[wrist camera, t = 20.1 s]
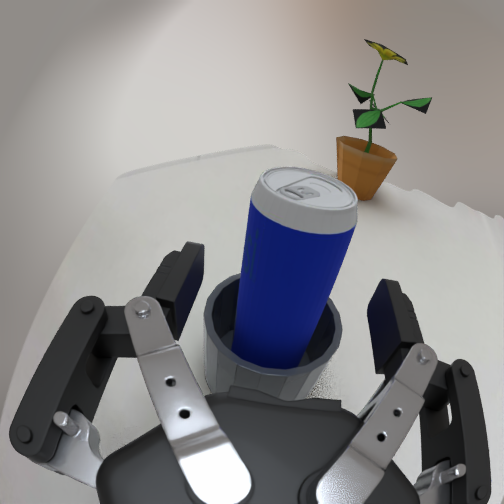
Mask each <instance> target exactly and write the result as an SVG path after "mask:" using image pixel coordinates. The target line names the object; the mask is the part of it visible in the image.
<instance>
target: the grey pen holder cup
mask: <svg viewBox="0 0 504 504" xmlns="http://www.w3.org/2000/svg"><path fill="white" fill-rule="evenodd" d="M240 276H241V273H239V274H236V275H233V276H231V277H229V278H227V279H226V280H224V281H223V282H221V283H220V284H218V285H217V286H216V288H215V289H214V290H213V292H212V293H211V294H210V296H209V297H208V299H207V302H206V306H205V310H204V367H205V377H206V381H207V384H208V387H209V388H210V390H211V392H212V394H213V393H218V392H229V387H230V385H234V386H239V387H244V388H250V389H256V390H260V391H262V392H264V393H267V394H269V395H272V396H274V397H277V398H280V399H282V400H285V401H293V400H302V399H306V397H307V396H308V395H309V393H310V392H311V391H312V389H313V388H314V386H315V385H316V383H317V382H318V380H319V379H320V377H321V375H322V374H323V372H324V371H325V369H326V367H327V366H328V364H329V362H330V361H331V359H332V357H333V356H334V354H335V352H336V351H337V349H338V347H339V344H340V340H341V335H342V324H341V319H340V314H339V312H338V310H337V309H336V307H335V305H334V303H333V302H332V300H331V299H330V298H328V300H327V303H326V305H325V307H324V310H323V312H322V314H321V317H320V319H319V321H318V324H317V326H316V328H315V330H314V333H313V335H312V337H311V339H310V342H309V344H308V346H307V348H306V350H305V352H304V355H303V357H302V359H301V361H300V363H299V365H298V367H296V368H291V369H286V370H285V369H274V368H264V367H261V366H258V365H255V364H253V363H250V362H248V361H245V360H243V359H241V358H240V357H238V356H237V355H236V354H234V353H233V352H232V351H231V347H232V339H233V331H234V323H235V315H236V307H237V299H238V292H239V284H240Z"/></svg>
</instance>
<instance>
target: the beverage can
mask: <svg viewBox="0 0 504 504" xmlns="http://www.w3.org/2000/svg"><path fill="white" fill-rule="evenodd" d="M357 204H358V199H357V196H356V194H355V192H354V191H353V190H352V189H351V188H350V187H349V186H347V185H346V184H344V183H343V182H341V181H339V180H338V179H336V178H333V177H331V176H329V175H326V174H324V173H321V172H317V171H314V170H309V169H305V168H298V167H276V168H271V169H268V170H266V171H264V172H263V173H262V174H261V176H260V178H259V180H258V182H257V184H256V186H255V188H254V190H253V192H252V195H251V200H250V207H249V215H248V222H247V230H246V238H245V245H244V253H243V261H242V268H241V276H240V284H239V292H238V299H237V307H236V315H235V323H234V331H233V339H232V347H231V351H232V352H233V353H234V354H236V355H237V356H238V357H240V358H241V359H243V360H245V361H248V362H250V363H253V364H255V365H258V366H261V367H264V368H274V369H285V370H286V369H291V368H296V367H298V365H299V363H300V361H301V359H302V357H303V355H304V352H305V350H306V348H307V346H308V344H309V342H310V339H311V337H312V335H313V333H314V330H315V328H316V326H317V324H318V321H319V319H320V317H321V314H322V312H323V310H324V307H325V305H326V303H327V300H328V298H329V295H330V293H331V290H332V288H333V285H334V283H335V280H336V278H337V275H338V273H339V270H340V268H341V265H342V262H343V260H344V257H345V254H346V252H347V249H348V246H349V243H350V241H351V238H352V235H353V232H354V229H355V226H356V223H357Z"/></svg>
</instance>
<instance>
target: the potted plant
mask: <svg viewBox="0 0 504 504" xmlns="http://www.w3.org/2000/svg"><path fill="white" fill-rule="evenodd" d="M365 41H366V42H367V43H368V45H369V46H371V47H373V48H374V49H376V50H377V51H378V52H379V54H380V56H381V58H382V62H381V64H380V67H379V69H378V72H377V75H376V78H375V81H374V85H373V88H372V91H371V93H367V92H365V91H361V90H359V89H357V88H356V87H354V86H352V85H351V84H349V86H350V87H351V89H352V91H353V92H354V94H355V95H356V97H357V98H358V101H359V102H360V103H361V104H362V103H363V102H365V101H366V100H368V99H369V98H371V100H370V110H366V109H353V113H354V119H355V125H356V128H369V141H365V140H362V139H358V138H353V137H347V136H342V137H337V138H336V141H337V168H338V169H337V170H338V172H337V173H338V180H339V181H341V182H343V183H344V184H346V185H347V186H349V187H350V188H351V189H352V190H353V191H354V192H355V194H356V196H357V199H359V200H363V201H365V200H371V199H372V197H373V196H374V194H375V193H376V191H377V190H378V188H379V187H380V185H381V184H382V182H383V181H384V179H385V178H386V176H387V174H388V173H389V171H390V170H391V168H392V167H393V165H394V164H395V162H396V160H397V157H396V155H395V154H394V153H393V152H391V151H389V150H387V149H385V148H384V147H381V146H379V145H377V144H374V143H372V128H381V129H386V126H385V122H384V118H385V117H384V116H383V114H382V112H383V111H385V110H387V109H389V108H391V107H393V106H395V105H398V104H400V103H402V104H405V105H407V106H409V107H412V108H414V109H416V110H418V111H421V112H423V113H425V114H426V112H427V109H428V107H429V104H430V102H431V99H432V98H422V99H413V100H407V101H404V102H399V103H397V104H394V105H391V106H389V107H386V108H384V109H381V110H380V109H377V106H376V103H375V99H374V94H373V92H374V88H375V85H376V82H377V79H378V75H379V72H380V69H381V66H382V63H383V60H393V59H394V60H397V61H399V62H402V63H404V64H407V62H406V59H404V58H403V57H401V56H400V55H398V54H397V53H395V52H393V51H392V50H390V49H388V48H386V47H385V46H383V45H381V44H378V43H375V42H372V41H368V40H365ZM407 65H408V64H407ZM373 100H374V104H373ZM372 104H373V106H374V105H375V106H374V107H375V108H373V107H372ZM383 117H384V118H383ZM386 121H387V120H386ZM387 122H388V121H387ZM388 123H389V122H388Z"/></svg>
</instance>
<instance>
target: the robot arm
mask: <svg viewBox="0 0 504 504" xmlns="http://www.w3.org/2000/svg"><path fill="white" fill-rule="evenodd" d="M203 275H204V244H199V243H193V242H188V241H187V242H186V244H185V245H184V247H183V249H182V251H181V252H179V251H172V252H171V253H169V254H168V255H167V256H165V258H164V259H163V261H162V262H161V264H160V266H159V267H158V269H157V271H156V273H155V274H154V275H153V277H152V279H151V280H150V282H149V284H148V285H147V287H146V289H145V291H144V292H143V294H142V296H140V297H136V298H134V299H132V300H130V301H129V302H128V303H127V305H126V306H105V305H104V302H103V301H102V300H101V299H100V298H98V297H96V296H86V297H83V298H81V299H79V300H78V301H77V302H76V303H75V304H74V305H73V307H72V308H71V310H70V312H69V313H68V315H67V316H66V318H65V320H64V321H63V323H62V325H61V326H60V328H59V330H58V331H57V333H56V335H55V337H54V338H53V340H52V342H51V344H50V345H49V347H48V349H47V351H46V353H45V354H44V356H43V358H42V360H41V362H40V364H39V366H38V368H37V370H36V372H35V374H34V375H33V377H32V379H31V382H30V384H29V386H28V388H27V390H26V392H25V394H24V396H23V398H22V400H21V403H20V405H19V407H18V409H17V412H16V414H15V416H14V419H13V421H12V424H11V426H10V430H9V438H10V442H11V444H12V446H13V448H14V449H15V450H16V451H17V452H18V453H20V454H21V455H23V456H25V457H27V458H29V459H30V460H31V461H32V462H34V463H36V464H38V465H40V466H42V467H44V468H46V469H48V470H51V471H54V472H56V473H59V474H61V475H67V476H69V477H71V478H73V479H75V480H77V481H79V482H81V483H84V484H86V485H88V486H91V487H93V488H95V489H97V493H98V497H99V501H100V504H487V503H488V501H489V499H490V495H491V471H490V458H489V448H488V440H487V432H486V426H485V419H484V414H483V408H482V403H481V398H480V394H479V389H478V385H477V381H476V377H475V373H474V370H473V368H472V366H471V365H470V364H469V363H468V362H467V361H465V360H463V359H457V360H455V361H454V362H453V363H452V364H451V365H449V364H446V363H444V362H441V361H439V360H437V356H436V353H435V352H434V350H433V349H432V348H431V347H429V346H428V345H426V344H424V341H423V337H422V334H421V331H420V327H419V324H418V321H417V320H416V319H417V317H416V314H415V313H414V308H413V305H412V302H411V301H410V299H409V298H408V297H407V295H406V294H404V293H402V291H401V288H400V285H399V282H398V281H393V280H388V279H382V280H381V281H380V282H379V284H378V286H377V288H376V290H375V292H374V294H373V296H372V298H371V300H370V302H369V304H368V309H367V317H368V323H369V329H370V336H371V342H372V349H373V357H374V364H375V372H376V374H385V379H384V380H383V382H382V383H381V384H380V386H379V387H378V389H377V390H376V392H375V393H374V394H373V396H372V397H371V399H370V400H369V401H368V403H367V404H366V405H365V407H364V408H363V409H362V410H361V412H360V413H359V414H358V415H357V416H356V415H354V414H353V413H351V412H350V411H347V410H345V409H343V408H341V400H333V399H322V398H310V399H302V400H293V401H285V400H282V399H280V398H277V397H274V396H272V395H269V394H267V393H264V392H262V391H260V390H256V389H250V388H244V387H239V386H234V385H230V387H229V392H218V393H213V394H209V395H206V396H204V395H203V393H202V391H201V389H200V387H199V385H198V383H197V381H196V379H195V377H194V375H193V373H192V371H191V369H190V367H189V364H188V362H187V360H186V358H185V356H184V354H183V351H182V349H181V347H180V346H179V345H177V344H176V343H175V340H177V341H179V338H180V336H181V333H182V331H183V328H184V326H185V323H186V321H187V318H188V316H189V313H190V311H191V308H192V306H193V303H194V301H195V299H196V296H197V294H198V291H199V289H200V286H201V284H202V280H203ZM118 357H128V358H137V359H138V362H139V365H140V368H141V371H142V374H143V377H144V380H145V383H146V386H147V389H148V391H149V394H150V397H151V399H152V402H153V405H154V407H155V410H156V412H157V415H158V417H159V420H160V422H161V424H160V425H158V426H156V427H155V428H153V429H152V430H150V431H148V432H147V433H145V434H144V435H142V436H140V437H139V438H137V439H135V440H134V441H132V442H130V443H129V444H127V445H125V446H124V447H122V448H120V449H118V450H117V451H115V452H113V453H112V454H110V455H109V456H108V457H106V458H105V459H104V460H103V458H102V457H101V454H100V451H99V443H100V436H99V432H98V430H97V429H96V427H95V426H94V425H93V424H92V421H93V419H94V416H95V413H96V410H97V408H98V405H99V402H100V400H101V397H102V395H103V392H104V389H105V387H106V384H107V382H108V379H109V377H110V374H111V372H112V370H113V367H114V365H115V362H116V360H117V358H118ZM449 403H450V406H451V413H452V421H451V424H450V425H449V417H448V409H447V405H448V404H449ZM418 414H419V416H420V430H421V451H422V473H421V474H420V475H419V476H418V478H417V481H416V483H415V484H414V485H412V484H411V483H410V481H409V480H408V479H407V478H406V476H405V475H404V474H403V473H402V471H401V470H400V469H399V467H398V466H397V465H396V464H395V462H394V461H393V460H392V458H393V456H394V455H395V453H396V452H397V450H398V449H399V447H400V445H401V444H402V442H403V440H404V439H405V437H406V435H407V434H408V432H409V430H410V428H411V427H412V425H413V423H414V421H415V419H416V417H417V416H418Z"/></svg>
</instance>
